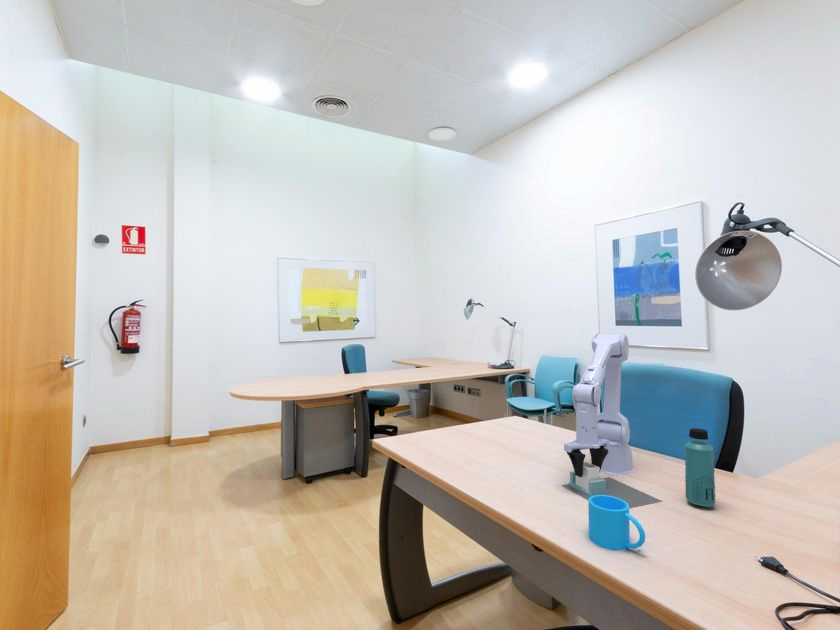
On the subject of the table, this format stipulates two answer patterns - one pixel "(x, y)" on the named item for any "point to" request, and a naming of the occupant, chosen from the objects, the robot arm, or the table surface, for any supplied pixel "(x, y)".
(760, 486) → the table surface
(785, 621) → the table surface
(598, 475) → the connector plug
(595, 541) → the mug
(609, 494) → the desk mat
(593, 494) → the connector holder
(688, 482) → the beverage bottle
